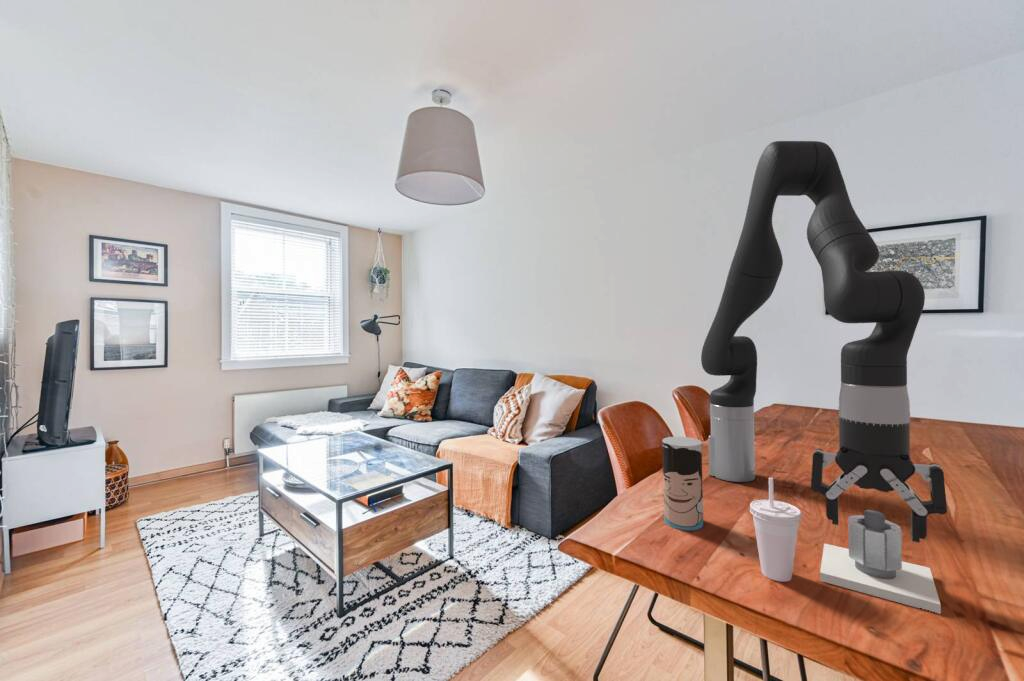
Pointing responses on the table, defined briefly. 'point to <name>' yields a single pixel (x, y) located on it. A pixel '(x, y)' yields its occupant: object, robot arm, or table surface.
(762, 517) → the smoothie
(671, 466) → the printed cylinder can
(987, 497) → the table surface
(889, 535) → the ring
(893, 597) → the shaft block
